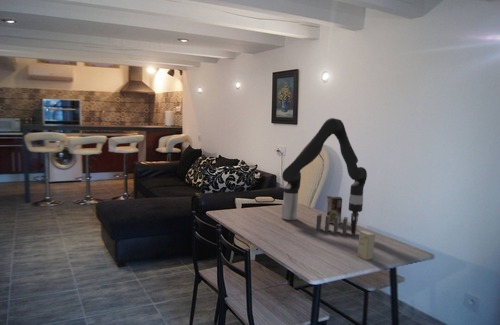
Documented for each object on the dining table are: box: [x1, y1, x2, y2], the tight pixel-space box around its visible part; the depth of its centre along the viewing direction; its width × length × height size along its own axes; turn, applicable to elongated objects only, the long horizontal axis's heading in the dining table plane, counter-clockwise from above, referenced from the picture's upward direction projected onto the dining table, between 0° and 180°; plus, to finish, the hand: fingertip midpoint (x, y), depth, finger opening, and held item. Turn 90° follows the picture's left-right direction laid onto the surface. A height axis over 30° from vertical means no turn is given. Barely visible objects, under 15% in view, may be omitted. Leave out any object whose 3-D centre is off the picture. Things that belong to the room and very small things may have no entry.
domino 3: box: [333, 216, 339, 234], centre depth 223 cm, size 2×5×9 cm, turn 160°
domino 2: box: [324, 215, 331, 233], centre depth 225 cm, size 2×5×9 cm, turn 159°
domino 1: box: [315, 213, 323, 232], centre depth 226 cm, size 2×5×9 cm, turn 159°
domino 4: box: [341, 216, 349, 236], centre depth 221 cm, size 2×5×9 cm, turn 160°
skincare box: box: [357, 230, 376, 261], centre depth 182 cm, size 6×4×12 cm
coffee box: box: [325, 195, 343, 225], centre depth 246 cm, size 9×6×16 cm
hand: (353, 231), depth 220 cm, fingers closed on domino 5, 5 cm apart
